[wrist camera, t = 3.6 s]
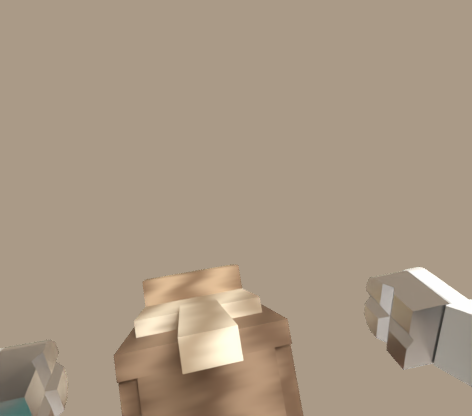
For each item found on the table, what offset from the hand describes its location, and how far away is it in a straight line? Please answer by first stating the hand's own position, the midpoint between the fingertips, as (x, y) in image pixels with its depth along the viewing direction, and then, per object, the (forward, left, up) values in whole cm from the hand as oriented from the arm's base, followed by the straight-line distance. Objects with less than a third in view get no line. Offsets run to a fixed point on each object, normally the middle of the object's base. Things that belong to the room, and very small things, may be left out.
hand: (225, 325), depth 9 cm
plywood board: (0, +25, -4) cm, 26 cm away
